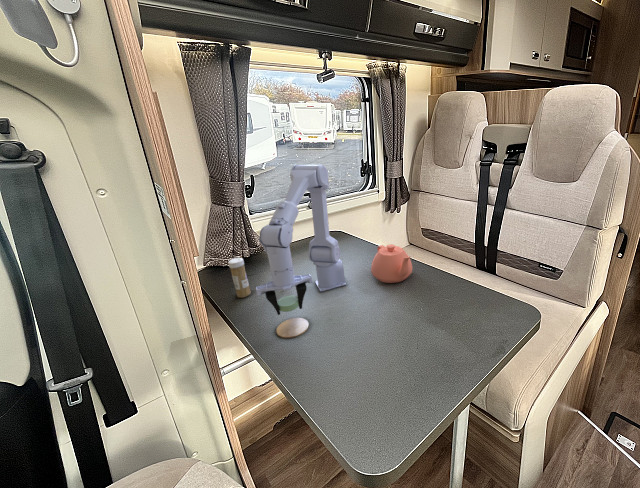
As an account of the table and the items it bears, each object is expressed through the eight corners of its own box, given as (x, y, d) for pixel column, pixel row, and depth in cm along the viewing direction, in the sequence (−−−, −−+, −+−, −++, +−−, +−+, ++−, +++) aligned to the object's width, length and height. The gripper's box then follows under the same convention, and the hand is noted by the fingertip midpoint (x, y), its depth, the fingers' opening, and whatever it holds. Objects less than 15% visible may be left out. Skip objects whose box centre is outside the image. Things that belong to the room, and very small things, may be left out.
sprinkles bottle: (252, 295, 110) (244, 260, 105) (237, 299, 108) (229, 264, 103) (249, 289, 114) (241, 256, 109) (235, 293, 111) (227, 259, 107)
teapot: (427, 282, 115) (427, 250, 111) (391, 295, 107) (389, 262, 103) (395, 261, 132) (394, 233, 128) (361, 271, 125) (359, 242, 120)
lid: (279, 314, 86) (278, 308, 86) (277, 303, 91) (276, 298, 90) (300, 308, 89) (299, 302, 88) (297, 298, 93) (296, 293, 93)
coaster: (305, 315, 98) (305, 314, 98) (311, 331, 91) (311, 330, 90) (274, 324, 94) (274, 323, 94) (278, 342, 87) (278, 341, 87)
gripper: (253, 280, 79) (263, 325, 84) (312, 266, 85) (318, 309, 90) (251, 269, 85) (261, 311, 90) (306, 257, 91) (312, 298, 96)
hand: (289, 309), depth 90 cm, fingers closed on lid, 5 cm apart
